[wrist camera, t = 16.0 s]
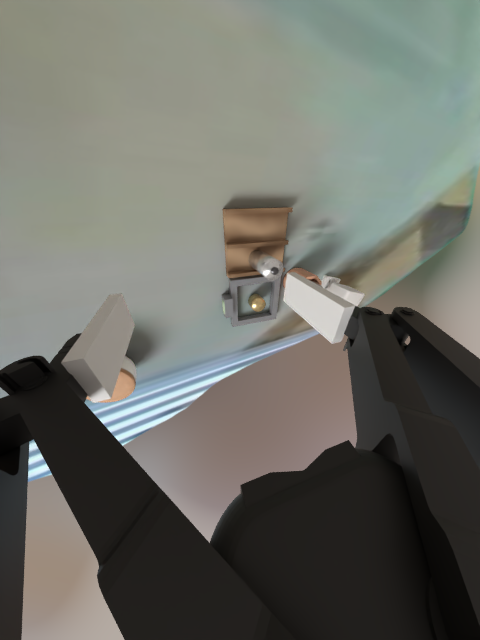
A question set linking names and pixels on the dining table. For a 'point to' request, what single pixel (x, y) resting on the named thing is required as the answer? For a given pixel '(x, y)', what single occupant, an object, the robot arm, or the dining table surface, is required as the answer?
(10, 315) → the dining table surface
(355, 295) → the security camera
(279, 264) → the cell
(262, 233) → the trough board
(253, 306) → the gold ball
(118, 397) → the lidded jar
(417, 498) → the robot arm
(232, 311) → the cradle
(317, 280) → the octagonal tan cylinder
